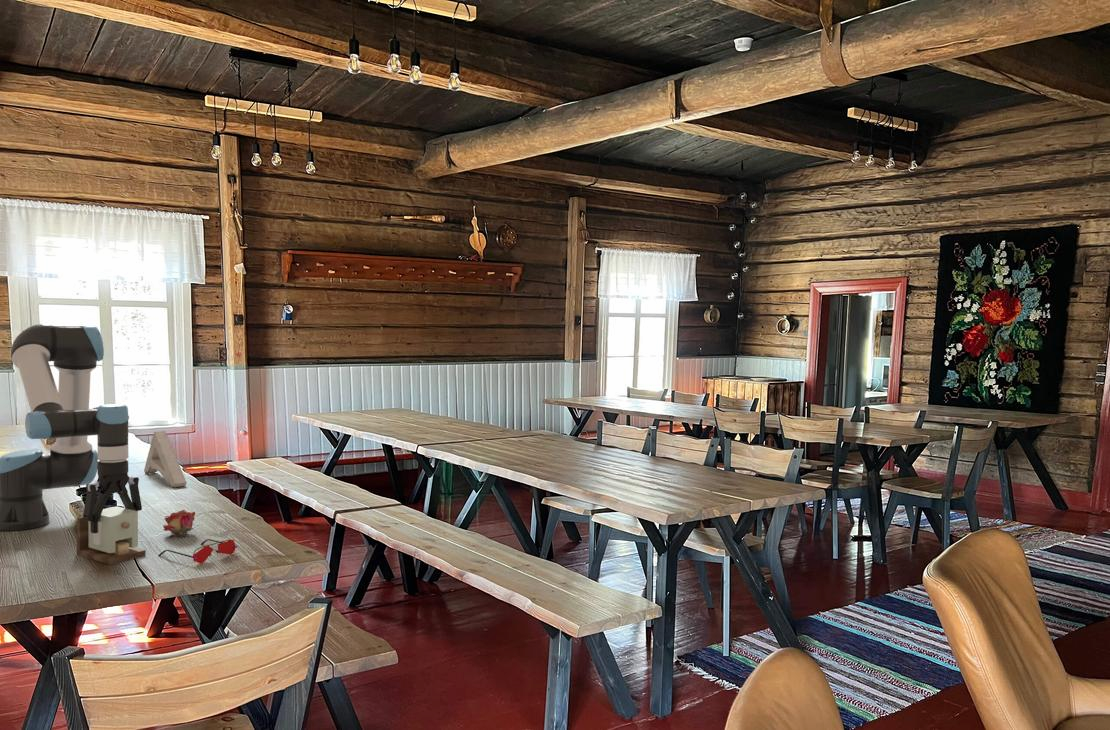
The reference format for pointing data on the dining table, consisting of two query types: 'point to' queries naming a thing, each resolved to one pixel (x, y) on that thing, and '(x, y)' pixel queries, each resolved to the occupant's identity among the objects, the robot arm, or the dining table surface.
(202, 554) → the glasses
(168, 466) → the wooden letter a
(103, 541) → the cabinet block
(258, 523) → the dining table surface
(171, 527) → the flower
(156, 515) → the dining table surface
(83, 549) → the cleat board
